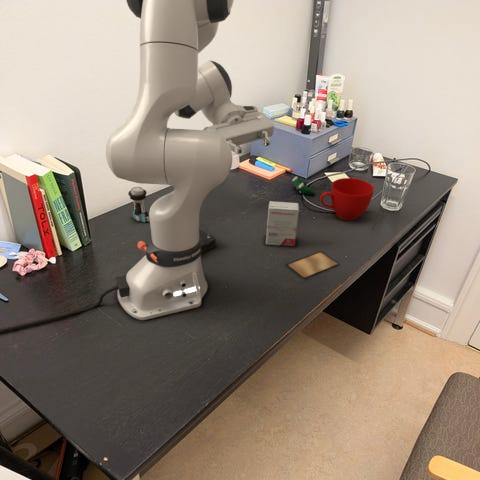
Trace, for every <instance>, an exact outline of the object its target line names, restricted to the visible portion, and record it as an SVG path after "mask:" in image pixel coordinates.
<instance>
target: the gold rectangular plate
mask: <svg viewBox="0 0 480 480" xmlns="http://www.w3.org/2000/svg"><path fill="white" fill-rule="evenodd" d="M337 265H338V263H337V262H335V261H334V260H333V259H331V258H329V257H328V256H327V255H326V254H324V253H322V252H321V251H319V252H318V253H317V252H316V253H314V254H313V255H310V256H307V257H305V258H302V259H299V260H297V261H294V262H291V263H289V264H287V266H288V267H289V268H290V269H292V270H293V271H295V272H296V274H298V275H299V276H301V277H303V279H306V278H308V277H311V276H314V275H316V274H318V273H321V272H323V271H326V270H329V269H331V268H333V267H335V266H337Z"/></svg>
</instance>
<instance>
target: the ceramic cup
mask: <svg viewBox="0 0 480 480" xmlns="http://www.w3.org/2000/svg"><path fill="white" fill-rule="evenodd" d="M374 190H375V188H374V186H373V185H372V184H371V183H370V182H368V181H366V180H363V179H359V178H354V177H342V178H338V179H336V180H334V181H333V182H332V184H331V190H330V191H324V192H323V193H322V194H321V195H320V198H319V200H320V203H321V204H322V206H323V207H326V208H328V209H332V210H333V211H334V213H335V215H336V216H337V217H338V218H339V219H341V220H344V221H354V220H356V219H357V218H359V217H361V216H362V215H363V214H364V213H365V212H366V210H367V209H368V207H369V206H370V203H371V201H372V199H373V195H374V192H375V191H374ZM325 196H330V202H331V204H327V203H326V202H325V201H324V197H325Z"/></svg>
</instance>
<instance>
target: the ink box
mask: <svg viewBox="0 0 480 480" xmlns="http://www.w3.org/2000/svg"><path fill="white" fill-rule="evenodd" d="M267 208H268V209H267V221H266V225H267V226H266V236H265V245H267V246H281V247H282V246H283V247H295V246H296V240H297V231H298V223H299V213H300V205H299V203H298V202H287V201H273V200H270V201H268V207H267Z"/></svg>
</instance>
